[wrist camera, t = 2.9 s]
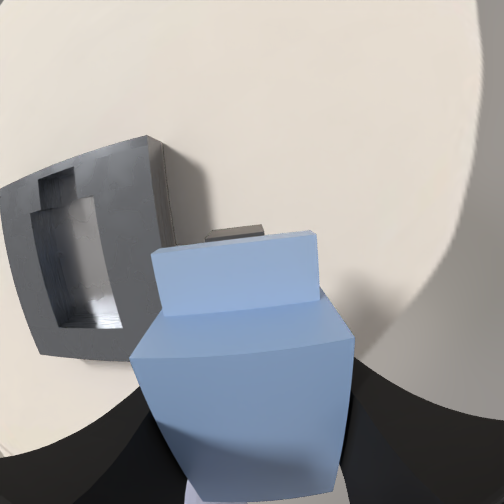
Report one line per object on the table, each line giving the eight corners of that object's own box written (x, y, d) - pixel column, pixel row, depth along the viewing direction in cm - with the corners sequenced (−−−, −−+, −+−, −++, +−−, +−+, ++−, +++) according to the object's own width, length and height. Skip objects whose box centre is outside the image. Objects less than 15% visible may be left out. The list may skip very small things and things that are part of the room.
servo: (308, 418, 11) (328, 506, 6) (221, 426, 11) (213, 516, 6) (299, 218, 9) (356, 252, 4) (177, 233, 9) (105, 280, 4)
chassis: (195, 338, 17) (188, 361, 14) (56, 339, 17) (40, 354, 15) (162, 142, 14) (147, 135, 12) (20, 187, 14) (-2, 189, 12)
